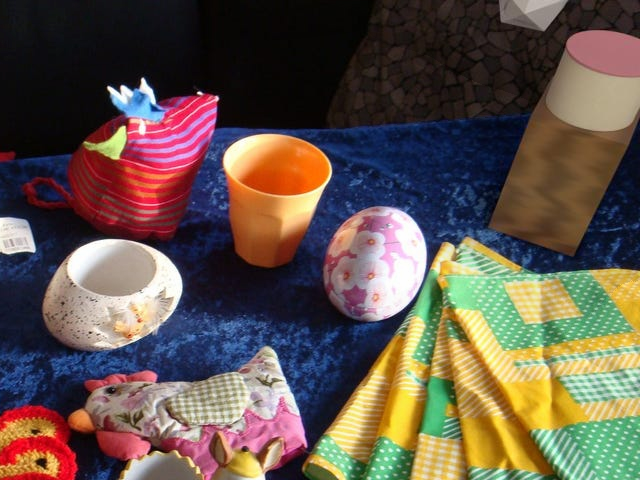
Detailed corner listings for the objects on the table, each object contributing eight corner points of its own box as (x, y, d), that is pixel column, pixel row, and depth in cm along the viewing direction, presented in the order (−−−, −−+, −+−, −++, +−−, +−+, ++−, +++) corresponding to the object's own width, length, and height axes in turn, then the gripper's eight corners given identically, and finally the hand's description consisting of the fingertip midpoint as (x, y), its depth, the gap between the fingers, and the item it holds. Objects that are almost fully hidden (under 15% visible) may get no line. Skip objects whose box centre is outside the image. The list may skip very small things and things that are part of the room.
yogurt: (642, 100, 100) (669, 44, 95) (625, 141, 94) (654, 84, 89) (555, 77, 104) (577, 22, 99) (534, 115, 98) (556, 58, 93)
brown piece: (590, 213, 113) (646, 100, 100) (571, 259, 107) (628, 144, 94) (509, 187, 117) (553, 75, 104) (486, 230, 110) (530, 116, 98)
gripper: (657, -164, 101) (613, 25, 102) (477, -180, 105) (436, 3, 106) (683, -203, 93) (635, 1, 95) (488, -219, 97) (445, -22, 99)
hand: (530, 2), depth 100 cm, fingers closed on die, 8 cm apart
